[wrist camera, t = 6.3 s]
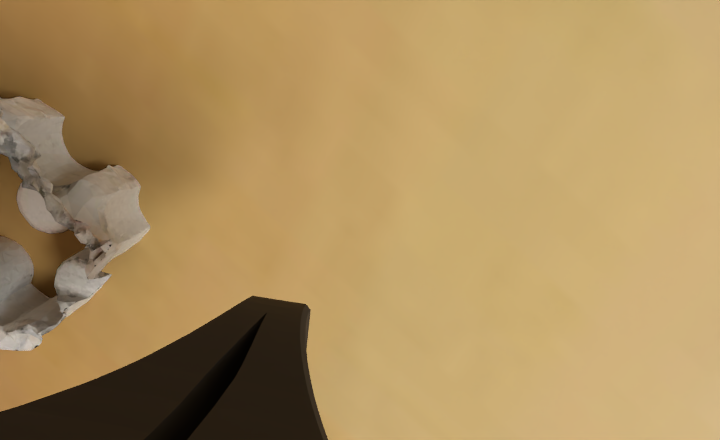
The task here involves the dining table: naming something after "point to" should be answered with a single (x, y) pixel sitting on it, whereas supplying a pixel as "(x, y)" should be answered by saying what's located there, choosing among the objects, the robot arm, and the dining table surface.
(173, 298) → the dining table surface
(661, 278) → the dining table surface
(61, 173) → the egg carton
